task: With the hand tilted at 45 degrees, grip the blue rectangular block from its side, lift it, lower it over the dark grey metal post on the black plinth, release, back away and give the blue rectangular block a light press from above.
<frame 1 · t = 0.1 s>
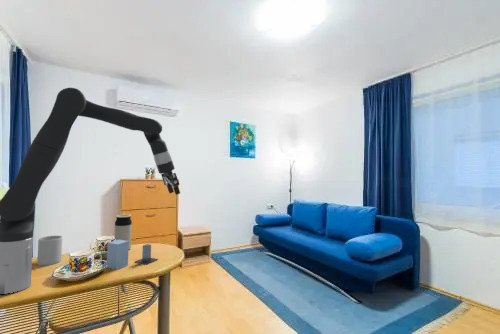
hand: (174, 193, 122), 31 cm above the table, tool tilted 20°, fingers open, 8 cm apart
travel mug: (122, 249, 132), on the table
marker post: (146, 261, 116), on the table
blue rectangular block: (117, 266, 109), on the table
mug: (50, 261, 113), on the table
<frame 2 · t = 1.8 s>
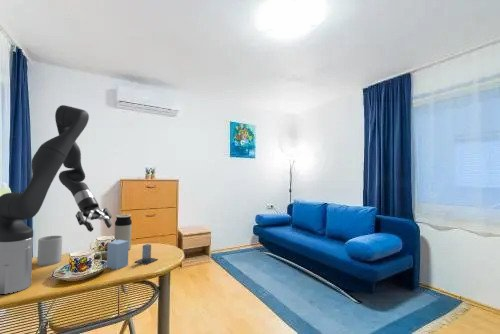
hand: (101, 228, 113), 15 cm above the table, tool tilted 45°, fingers open, 8 cm apart
nothing on the table moved.
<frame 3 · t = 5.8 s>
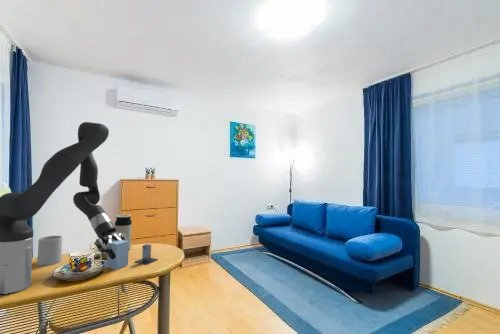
hand: (120, 255, 108), 5 cm above the table, tool tilted 45°, fingers closed on blue rectangular block, 5 cm apart
blue rectangular block: (117, 266, 109), on the table, touching gripper
everything else where it was.
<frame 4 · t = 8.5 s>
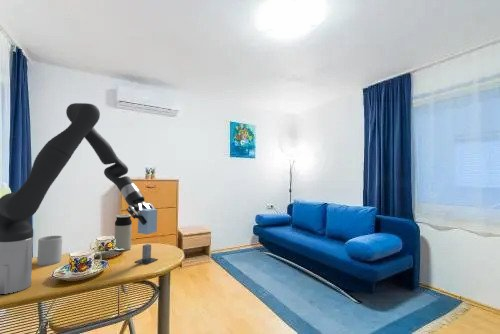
hand: (150, 222, 116), 18 cm above the table, tool tilted 45°, fingers closed on blue rectangular block, 5 cm apart
blue rectangular block: (147, 232, 116), point 13 cm above the table, touching gripper
everything else where it was.
when the fingers open (6 cm above the table, at t = 11.7 s): blue rectangular block drops 1 cm, resting on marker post.
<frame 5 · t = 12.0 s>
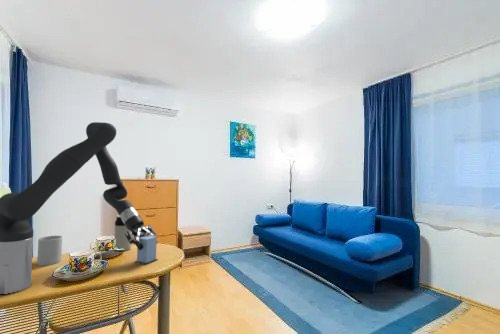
hand: (149, 246, 115), 7 cm above the table, tool tilted 45°, fingers open, 8 cm apart
blue rectangular block: (146, 260, 116), resting on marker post
everything else where it was.
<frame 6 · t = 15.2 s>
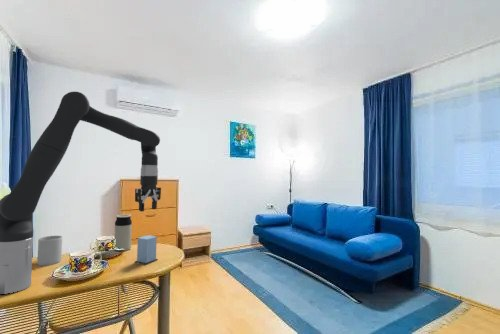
hand: (147, 210, 116), 24 cm above the table, tool pointing down, fingers open, 7 cm apart
nothing on the table moved.
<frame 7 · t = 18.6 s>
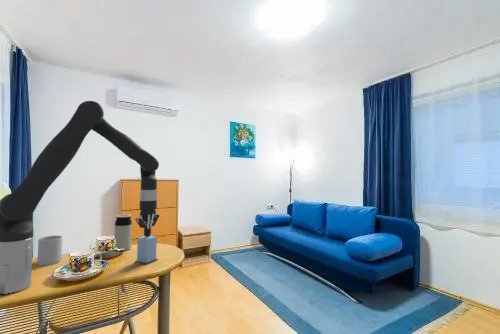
hand: (147, 236, 116), 11 cm above the table, tool pointing down, fingers closed
nothing on the table moved.
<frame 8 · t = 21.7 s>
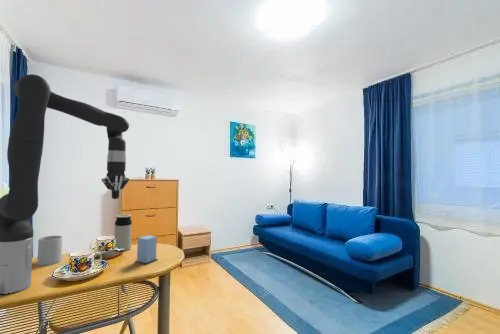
hand: (115, 198, 113), 29 cm above the table, tool pointing down, fingers closed
nothing on the table moved.
at the end: blue rectangular block 0.2 cm from the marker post (horizontally); blue rectangular block resting on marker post; blue rectangular block tilted 0° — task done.
